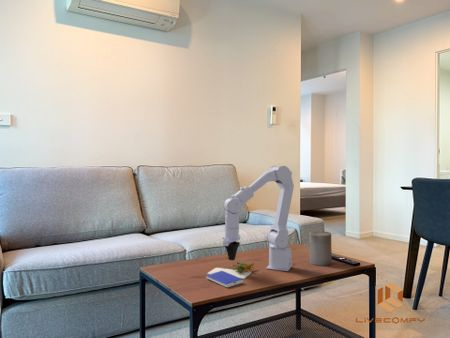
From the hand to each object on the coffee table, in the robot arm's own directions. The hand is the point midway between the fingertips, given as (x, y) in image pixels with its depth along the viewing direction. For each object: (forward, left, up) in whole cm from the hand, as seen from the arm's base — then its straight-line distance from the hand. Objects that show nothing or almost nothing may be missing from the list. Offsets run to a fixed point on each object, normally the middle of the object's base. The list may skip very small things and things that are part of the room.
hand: (231, 259), depth 151 cm
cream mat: (0, +3, -5) cm, 6 cm away
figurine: (-1, -3, -3) cm, 5 cm away
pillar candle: (-32, -28, -5) cm, 43 cm away
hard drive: (-2, +13, -5) cm, 14 cm away
